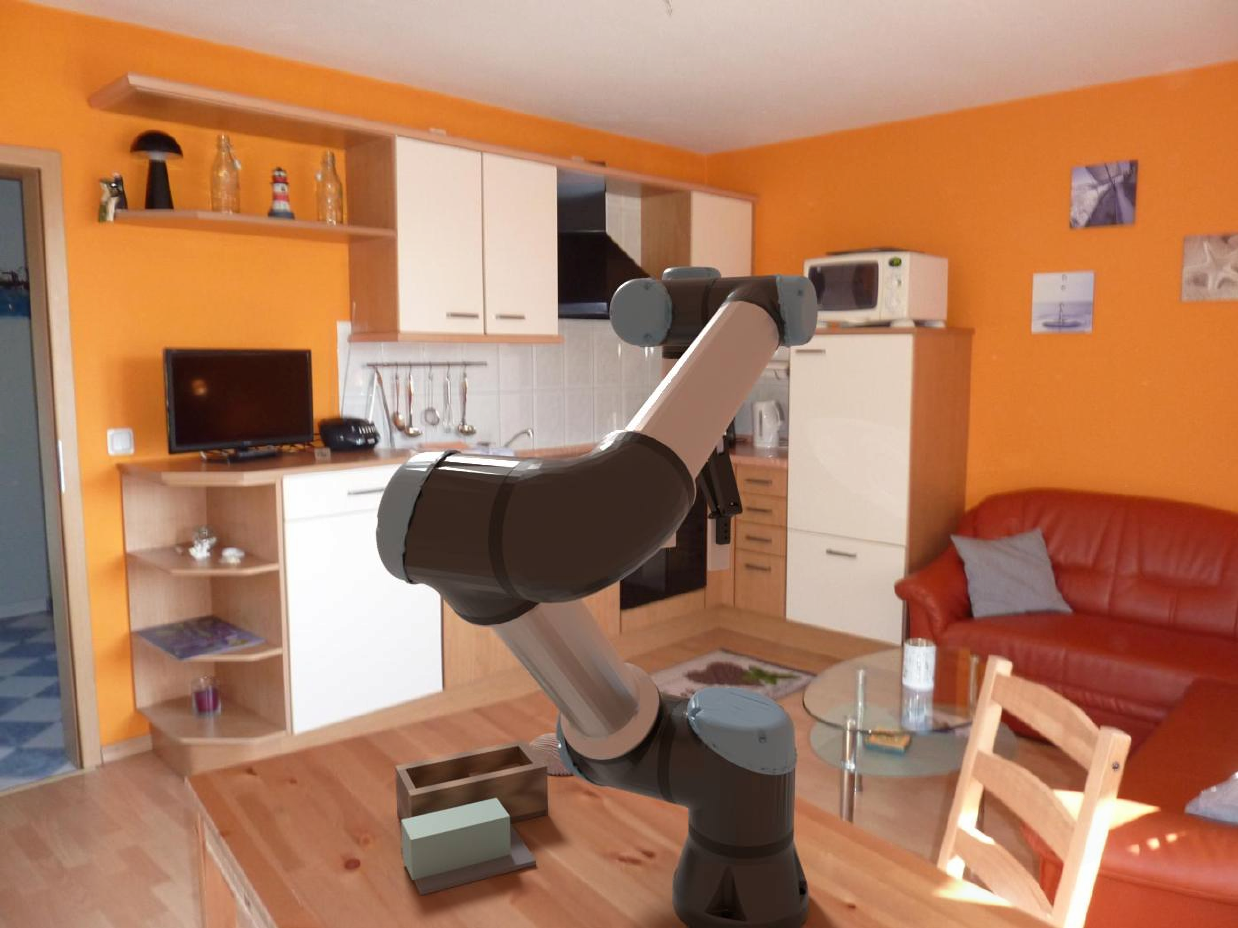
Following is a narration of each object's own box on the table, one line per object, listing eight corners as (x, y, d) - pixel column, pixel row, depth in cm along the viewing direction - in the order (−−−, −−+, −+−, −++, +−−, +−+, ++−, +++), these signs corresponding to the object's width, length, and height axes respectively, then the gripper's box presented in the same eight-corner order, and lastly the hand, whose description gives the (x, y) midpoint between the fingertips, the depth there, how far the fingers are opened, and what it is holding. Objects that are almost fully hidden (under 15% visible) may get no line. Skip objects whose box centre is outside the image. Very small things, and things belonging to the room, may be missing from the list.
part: (497, 834, 117) (496, 797, 116) (510, 854, 112) (509, 815, 111) (402, 858, 111) (401, 819, 111) (412, 879, 107) (410, 839, 106)
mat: (536, 864, 111) (535, 860, 111) (420, 895, 105) (420, 890, 105) (509, 825, 120) (509, 821, 120) (401, 851, 114) (401, 847, 114)
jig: (525, 784, 131) (524, 739, 130) (548, 814, 123) (547, 765, 122) (397, 813, 123) (395, 765, 122) (412, 846, 115) (410, 795, 114)
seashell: (522, 728, 143) (585, 713, 143) (531, 761, 144) (593, 745, 144) (519, 756, 133) (587, 739, 133) (528, 791, 134) (595, 774, 134)
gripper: (773, 397, 106) (770, 576, 109) (670, 387, 129) (670, 536, 131) (718, 399, 103) (716, 583, 106) (621, 389, 125) (622, 541, 128)
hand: (690, 557), depth 119 cm, fingers open, 13 cm apart
